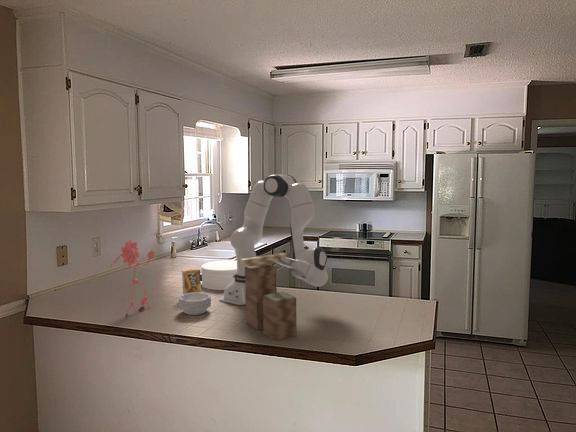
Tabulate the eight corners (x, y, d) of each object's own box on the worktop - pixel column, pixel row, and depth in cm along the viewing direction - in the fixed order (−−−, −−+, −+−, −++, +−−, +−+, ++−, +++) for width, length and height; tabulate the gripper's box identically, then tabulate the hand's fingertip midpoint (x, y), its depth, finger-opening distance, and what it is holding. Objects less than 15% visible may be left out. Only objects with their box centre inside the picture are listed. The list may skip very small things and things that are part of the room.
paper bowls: (215, 313, 226) (215, 297, 225) (184, 319, 219) (184, 302, 218) (205, 305, 239) (204, 290, 239) (175, 310, 232) (174, 294, 231)
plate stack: (195, 289, 271) (194, 269, 269) (210, 277, 298) (209, 259, 297) (243, 290, 267) (242, 270, 266) (253, 278, 294) (253, 260, 293)
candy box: (198, 295, 257) (197, 268, 255) (201, 297, 253) (200, 269, 252) (182, 298, 253) (181, 270, 251) (185, 300, 249) (184, 271, 247)
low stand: (283, 328, 205) (282, 291, 203) (296, 335, 197) (296, 296, 195) (263, 333, 199) (262, 294, 197) (276, 340, 191) (275, 300, 189)
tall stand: (265, 319, 217) (264, 263, 214) (277, 325, 209) (276, 267, 206) (246, 323, 212) (244, 266, 209) (257, 329, 203) (256, 270, 200)
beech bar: (283, 259, 216) (283, 252, 215) (286, 260, 213) (286, 254, 213) (240, 265, 203) (240, 259, 203) (243, 267, 201) (243, 260, 201)
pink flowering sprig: (162, 303, 243) (157, 236, 239) (126, 319, 219) (121, 245, 216) (138, 301, 249) (133, 235, 245) (101, 316, 226) (95, 244, 222)
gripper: (290, 258, 229) (268, 246, 221) (315, 266, 212) (293, 253, 204) (284, 270, 228) (263, 259, 220) (310, 279, 211) (287, 267, 203)
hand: (277, 256), depth 212 cm, fingers closed on beech bar, 3 cm apart
